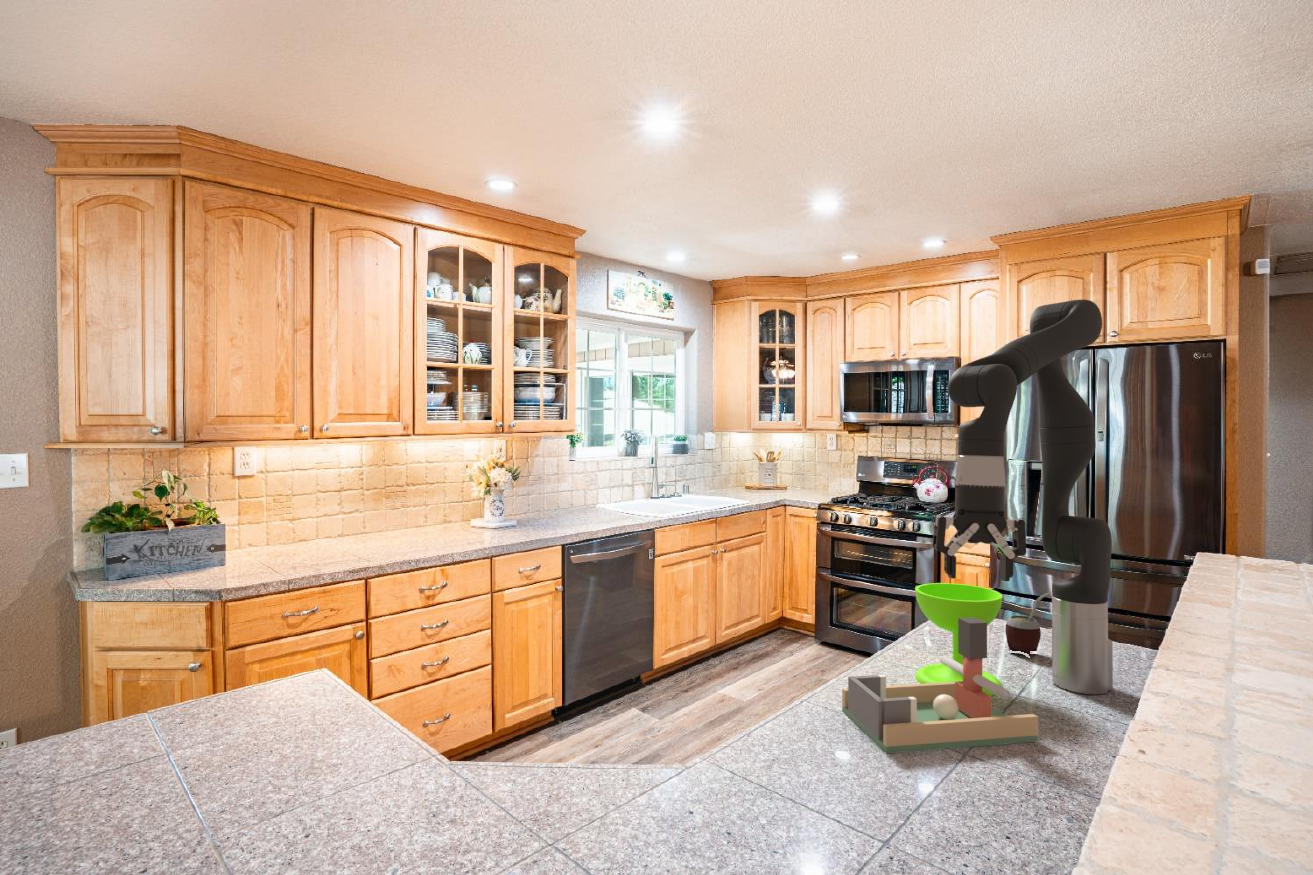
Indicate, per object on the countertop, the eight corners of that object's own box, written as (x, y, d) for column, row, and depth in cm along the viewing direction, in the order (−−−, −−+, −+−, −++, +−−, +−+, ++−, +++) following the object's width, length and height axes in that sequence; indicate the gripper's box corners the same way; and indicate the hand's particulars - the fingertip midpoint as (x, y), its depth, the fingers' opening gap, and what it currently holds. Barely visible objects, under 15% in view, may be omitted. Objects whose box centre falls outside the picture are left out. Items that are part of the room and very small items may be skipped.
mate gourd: (1000, 648, 152) (1000, 583, 152) (1036, 649, 151) (1035, 584, 151) (1014, 659, 145) (1014, 591, 145) (1052, 660, 144) (1051, 591, 144)
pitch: (975, 701, 121) (975, 664, 121) (1038, 741, 105) (1037, 697, 105) (842, 710, 117) (842, 671, 117) (886, 753, 102) (886, 707, 102)
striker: (952, 695, 121) (951, 607, 121) (1015, 736, 104) (1014, 634, 104) (935, 696, 121) (935, 608, 121) (996, 737, 104) (996, 635, 104)
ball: (949, 712, 114) (949, 690, 114) (963, 722, 110) (963, 698, 110) (928, 714, 113) (928, 691, 113) (941, 724, 109) (941, 700, 109)
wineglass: (922, 693, 126) (922, 599, 126) (909, 665, 141) (909, 581, 141) (1014, 700, 122) (1013, 603, 122) (990, 670, 138) (990, 584, 138)
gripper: (1015, 483, 114) (1013, 577, 114) (929, 480, 116) (927, 572, 115) (1034, 485, 106) (1032, 585, 106) (942, 482, 108) (940, 580, 108)
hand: (977, 578), depth 111 cm, fingers open, 8 cm apart
